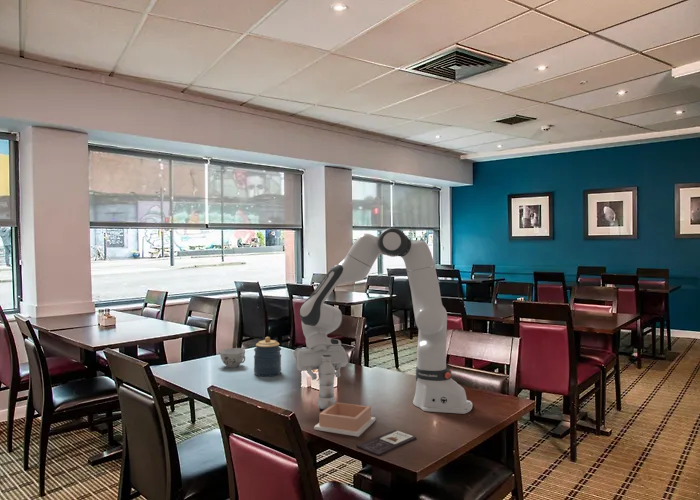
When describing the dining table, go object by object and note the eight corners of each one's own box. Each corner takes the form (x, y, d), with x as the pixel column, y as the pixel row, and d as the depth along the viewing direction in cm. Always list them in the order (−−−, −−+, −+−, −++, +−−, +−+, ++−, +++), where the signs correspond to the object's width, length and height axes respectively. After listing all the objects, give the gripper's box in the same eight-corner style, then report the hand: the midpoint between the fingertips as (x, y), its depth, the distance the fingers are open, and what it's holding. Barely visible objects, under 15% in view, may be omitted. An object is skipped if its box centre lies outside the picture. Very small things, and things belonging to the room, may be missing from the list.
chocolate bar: (356, 445, 149) (394, 429, 162) (356, 448, 149) (394, 432, 162) (378, 454, 143) (416, 437, 156) (378, 457, 143) (416, 440, 156)
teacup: (214, 367, 247) (214, 351, 247) (233, 362, 258) (233, 346, 258) (235, 371, 239) (235, 354, 239) (253, 366, 249) (253, 350, 249)
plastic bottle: (325, 405, 189) (325, 353, 188) (338, 408, 184) (338, 355, 184) (314, 409, 184) (313, 356, 183) (327, 413, 179) (327, 358, 179)
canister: (286, 373, 234) (286, 337, 234) (263, 378, 226) (263, 340, 225) (271, 368, 244) (271, 333, 244) (248, 373, 235) (248, 336, 235)
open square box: (375, 420, 172) (375, 406, 172) (358, 436, 157) (358, 421, 157) (334, 414, 178) (334, 400, 178) (314, 429, 164) (314, 414, 164)
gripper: (294, 344, 187) (301, 375, 178) (344, 340, 194) (353, 370, 185) (291, 353, 191) (298, 384, 182) (340, 349, 199) (349, 379, 190)
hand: (326, 377), depth 184 cm, fingers open, 8 cm apart
